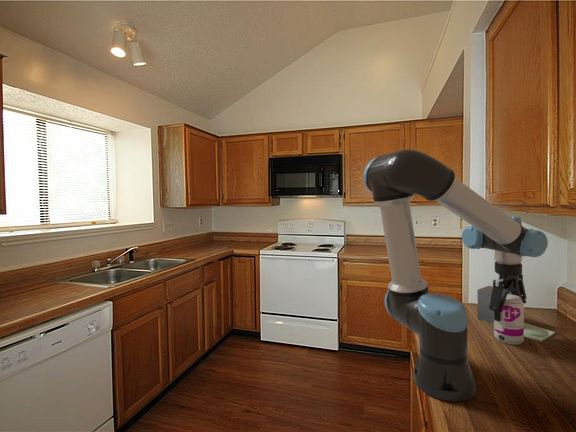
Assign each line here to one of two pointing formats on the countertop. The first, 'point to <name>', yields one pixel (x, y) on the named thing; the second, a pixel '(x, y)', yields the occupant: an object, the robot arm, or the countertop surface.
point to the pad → (536, 332)
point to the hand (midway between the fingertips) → (508, 325)
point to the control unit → (485, 304)
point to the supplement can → (512, 321)
